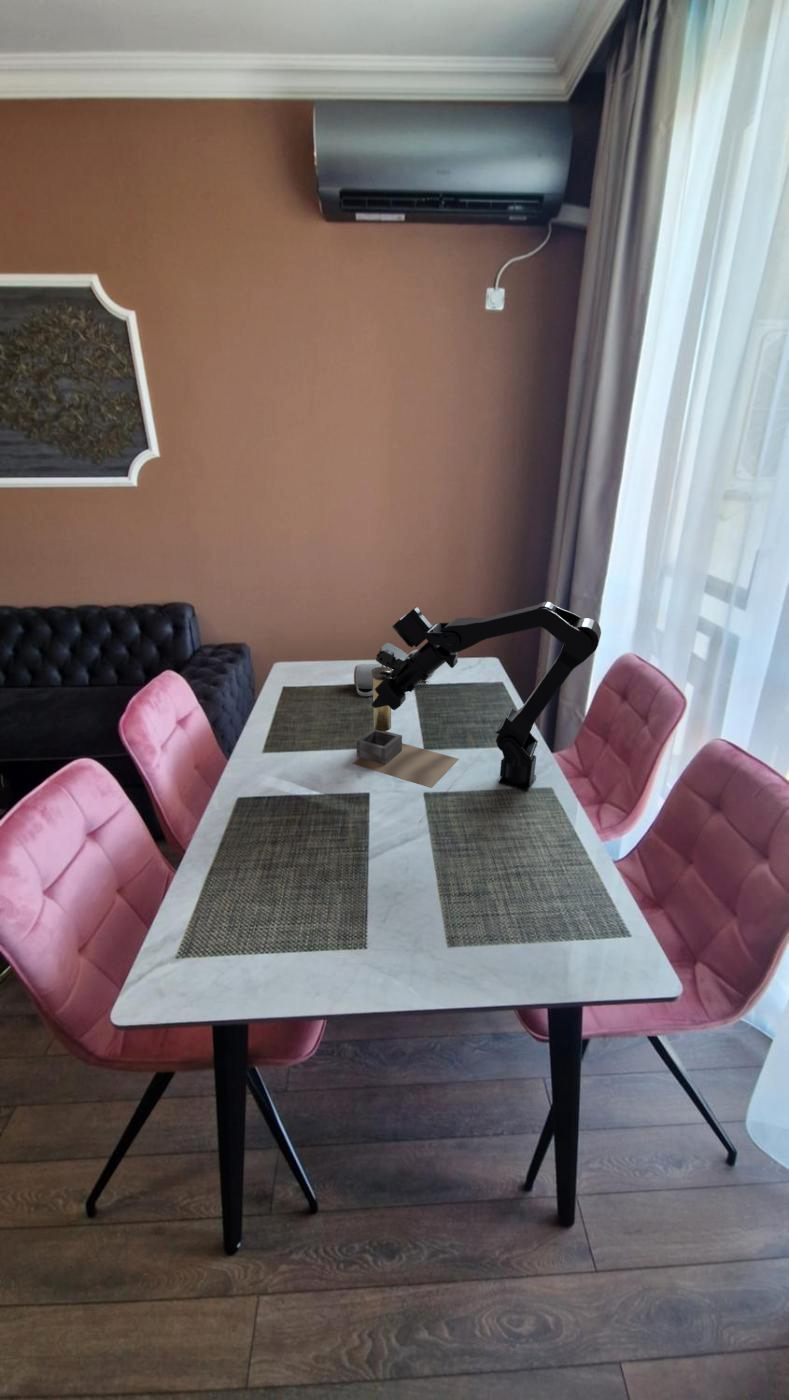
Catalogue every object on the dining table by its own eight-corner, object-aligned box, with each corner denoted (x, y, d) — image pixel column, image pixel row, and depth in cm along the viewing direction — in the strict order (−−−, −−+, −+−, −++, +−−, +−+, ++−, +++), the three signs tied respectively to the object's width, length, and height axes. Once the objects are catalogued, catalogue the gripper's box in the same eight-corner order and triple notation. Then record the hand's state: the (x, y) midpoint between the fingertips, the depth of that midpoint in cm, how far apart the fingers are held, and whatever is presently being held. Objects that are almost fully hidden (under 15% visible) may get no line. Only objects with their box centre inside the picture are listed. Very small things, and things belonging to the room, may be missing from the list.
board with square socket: (458, 764, 139) (460, 743, 137) (431, 793, 128) (432, 771, 125) (380, 742, 148) (380, 722, 146) (349, 768, 137) (348, 747, 135)
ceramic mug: (358, 682, 183) (357, 658, 180) (384, 683, 182) (384, 660, 179) (351, 697, 174) (350, 672, 170) (379, 698, 173) (379, 673, 169)
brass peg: (396, 725, 140) (396, 669, 135) (386, 733, 137) (385, 675, 131) (378, 721, 142) (378, 665, 137) (368, 729, 139) (367, 672, 133)
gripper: (411, 622, 137) (367, 662, 145) (384, 648, 121) (335, 691, 129) (444, 658, 138) (398, 696, 146) (421, 689, 122) (370, 730, 130)
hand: (376, 702), depth 138 cm, fingers closed on brass peg, 4 cm apart
